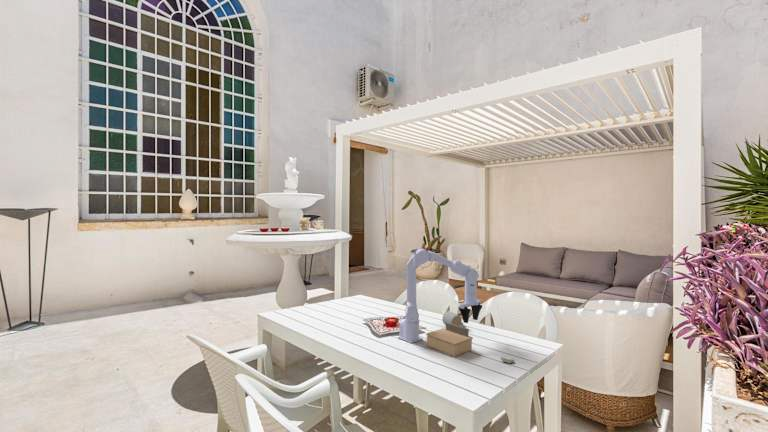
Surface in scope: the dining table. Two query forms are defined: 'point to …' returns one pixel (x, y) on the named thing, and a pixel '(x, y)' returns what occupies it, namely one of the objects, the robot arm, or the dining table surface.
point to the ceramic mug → (452, 318)
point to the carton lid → (451, 334)
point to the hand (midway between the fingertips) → (470, 321)
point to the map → (507, 360)
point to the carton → (449, 346)
